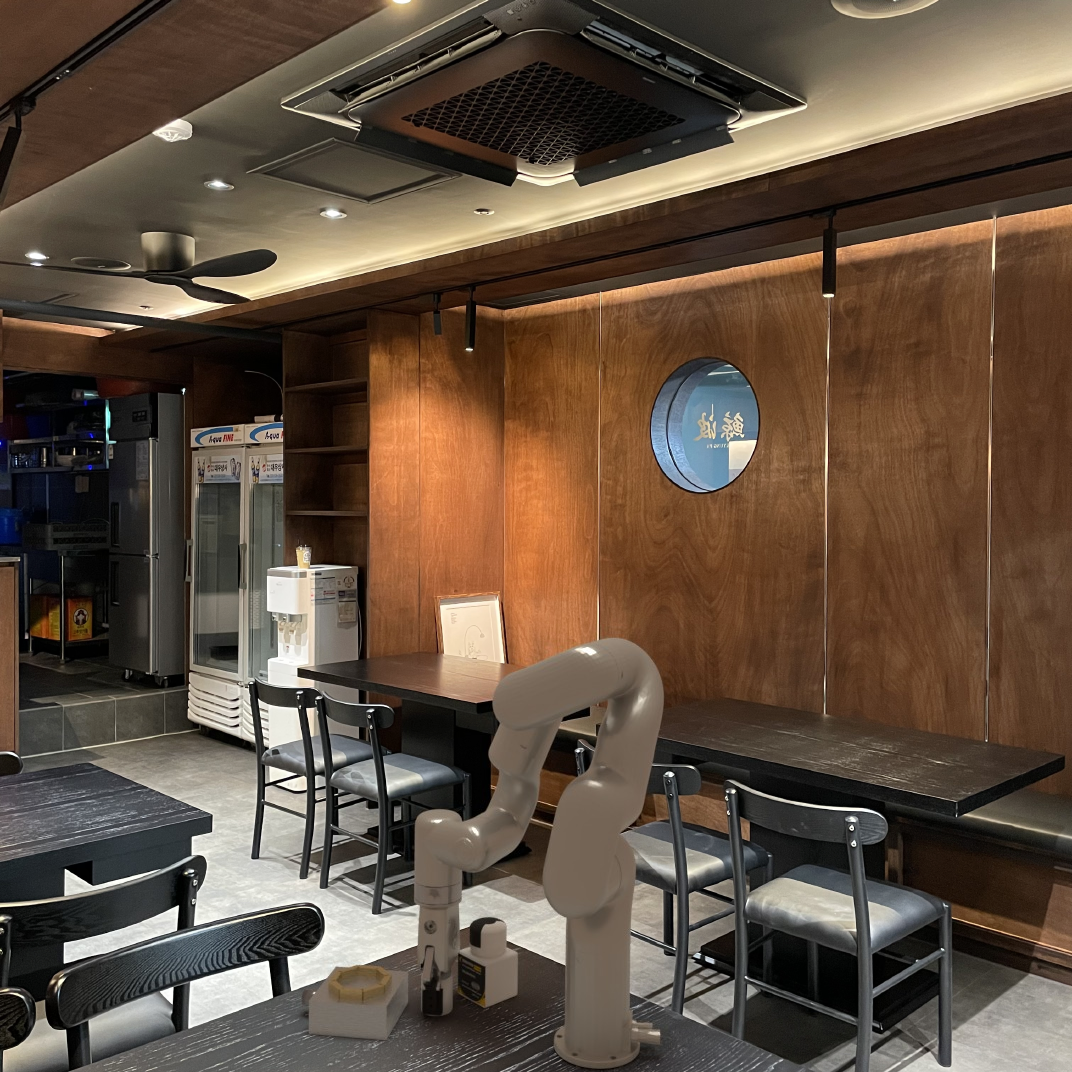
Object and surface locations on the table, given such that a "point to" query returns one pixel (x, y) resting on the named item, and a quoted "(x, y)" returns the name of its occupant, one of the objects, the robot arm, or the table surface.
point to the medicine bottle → (487, 964)
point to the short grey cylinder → (444, 990)
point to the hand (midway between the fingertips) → (436, 1004)
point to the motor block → (357, 1002)
